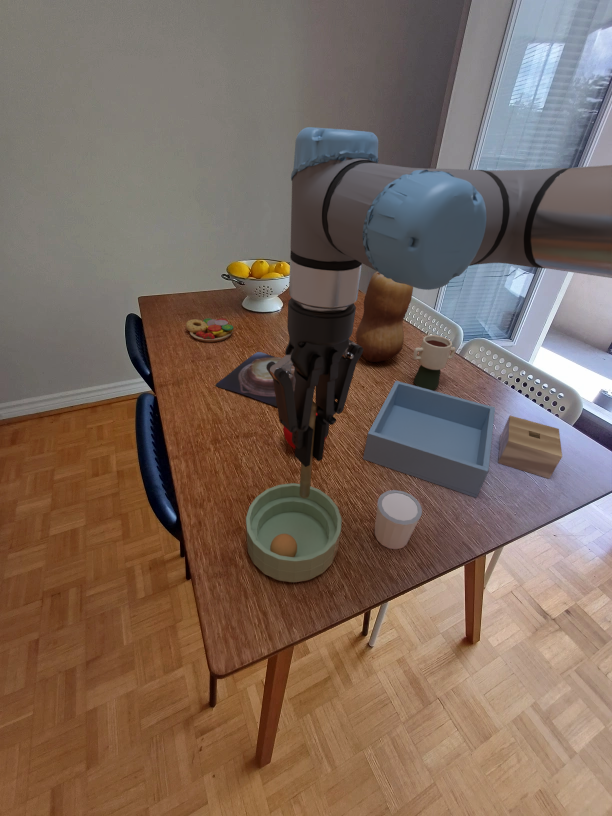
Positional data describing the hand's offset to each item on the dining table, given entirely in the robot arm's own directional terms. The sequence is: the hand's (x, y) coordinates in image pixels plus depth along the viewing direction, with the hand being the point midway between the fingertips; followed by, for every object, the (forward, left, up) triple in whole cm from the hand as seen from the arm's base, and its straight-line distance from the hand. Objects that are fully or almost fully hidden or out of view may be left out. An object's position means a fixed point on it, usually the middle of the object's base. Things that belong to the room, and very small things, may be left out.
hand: (308, 457), depth 57 cm
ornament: (+18, +8, -15) cm, 25 cm away
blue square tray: (+31, -15, -15) cm, 38 cm away
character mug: (+55, -10, -15) cm, 58 cm away
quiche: (+38, +27, -15) cm, 49 cm away
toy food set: (+52, +55, -15) cm, 77 cm away
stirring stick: (0, 0, -8) cm, 8 cm away
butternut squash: (+63, +6, -15) cm, 65 cm away
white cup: (+5, -14, -15) cm, 21 cm away
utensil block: (+37, -34, -15) cm, 52 cm away
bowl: (-4, 0, -15) cm, 16 cm away
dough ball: (-7, 0, -12) cm, 14 cm away
